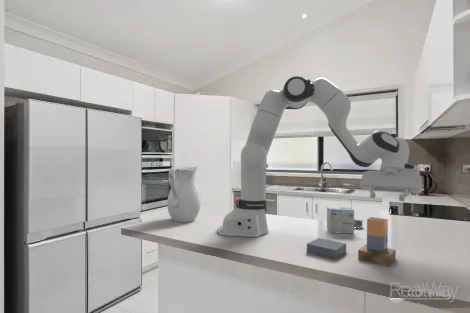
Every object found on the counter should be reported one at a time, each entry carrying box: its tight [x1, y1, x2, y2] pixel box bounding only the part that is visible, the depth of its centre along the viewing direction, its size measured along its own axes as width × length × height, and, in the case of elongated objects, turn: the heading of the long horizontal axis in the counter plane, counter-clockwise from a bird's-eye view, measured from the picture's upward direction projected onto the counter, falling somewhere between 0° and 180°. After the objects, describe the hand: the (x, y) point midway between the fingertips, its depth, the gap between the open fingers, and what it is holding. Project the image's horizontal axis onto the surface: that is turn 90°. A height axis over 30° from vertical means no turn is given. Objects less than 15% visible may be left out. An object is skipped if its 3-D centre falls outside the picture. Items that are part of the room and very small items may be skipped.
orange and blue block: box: [366, 216, 389, 254], centre depth 90 cm, size 5×5×10 cm
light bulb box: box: [326, 206, 355, 234], centre depth 126 cm, size 11×7×11 cm, turn 84°
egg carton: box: [354, 218, 364, 229], centre depth 136 cm, size 11×8×4 cm
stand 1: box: [306, 237, 347, 260], centre depth 96 cm, size 10×10×3 cm
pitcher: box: [166, 165, 202, 223], centre depth 140 cm, size 24×17×28 cm
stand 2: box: [357, 243, 397, 267], centre depth 90 cm, size 9×9×3 cm
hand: (386, 198), depth 100 cm, fingers open, 8 cm apart
